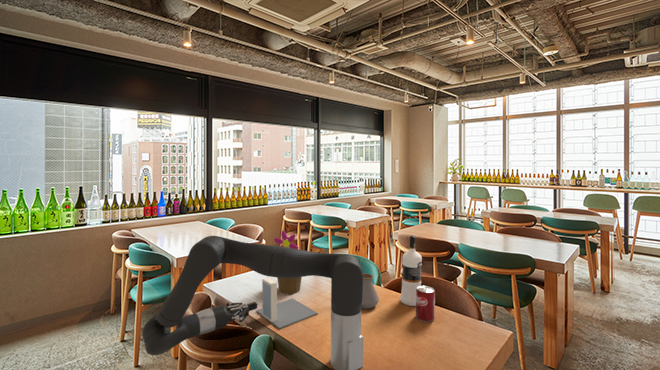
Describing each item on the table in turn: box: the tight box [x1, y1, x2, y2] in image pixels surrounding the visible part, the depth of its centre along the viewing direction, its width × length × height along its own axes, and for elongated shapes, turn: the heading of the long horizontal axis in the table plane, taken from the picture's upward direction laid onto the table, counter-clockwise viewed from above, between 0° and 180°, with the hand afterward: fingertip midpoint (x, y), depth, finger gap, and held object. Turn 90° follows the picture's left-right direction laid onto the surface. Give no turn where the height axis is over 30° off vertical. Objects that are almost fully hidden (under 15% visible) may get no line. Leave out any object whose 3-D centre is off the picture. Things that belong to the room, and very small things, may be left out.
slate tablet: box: [261, 276, 278, 323], centre depth 122 cm, size 7×3×15 cm, turn 41°
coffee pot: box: [361, 273, 380, 310], centre depth 138 cm, size 21×12×15 cm, turn 58°
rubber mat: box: [255, 297, 318, 330], centre depth 128 cm, size 18×18×1 cm
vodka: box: [399, 235, 423, 307], centre depth 138 cm, size 9×9×30 cm
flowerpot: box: [273, 230, 303, 295], centre depth 150 cm, size 14×14×30 cm
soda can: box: [414, 285, 436, 323], centre depth 124 cm, size 7×7×12 cm
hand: (256, 305), depth 118 cm, fingers closed
